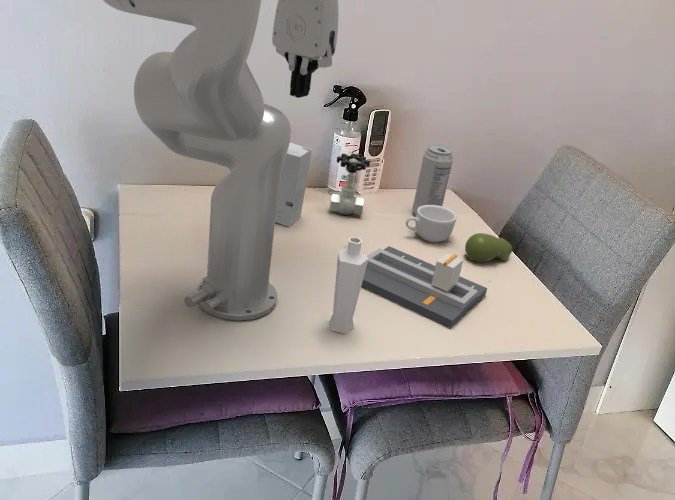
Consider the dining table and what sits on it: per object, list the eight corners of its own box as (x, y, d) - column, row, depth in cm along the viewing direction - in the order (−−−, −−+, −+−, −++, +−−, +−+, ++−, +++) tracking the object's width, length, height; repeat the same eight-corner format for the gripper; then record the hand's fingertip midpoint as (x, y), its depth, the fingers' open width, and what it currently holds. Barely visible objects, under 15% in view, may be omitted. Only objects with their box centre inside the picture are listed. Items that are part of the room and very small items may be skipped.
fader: (445, 297, 113) (453, 266, 110) (429, 290, 115) (437, 259, 112) (456, 288, 116) (464, 257, 114) (440, 281, 118) (448, 251, 115)
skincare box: (252, 216, 134) (258, 144, 127) (265, 206, 139) (272, 136, 132) (291, 228, 132) (300, 155, 125) (303, 217, 137) (312, 146, 130)
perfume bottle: (358, 321, 107) (373, 236, 100) (352, 336, 103) (368, 249, 96) (329, 314, 108) (343, 229, 101) (323, 329, 104) (336, 242, 97)
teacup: (442, 228, 141) (447, 204, 139) (456, 246, 135) (463, 222, 132) (396, 228, 138) (401, 204, 136) (409, 246, 132) (414, 221, 129)
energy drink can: (427, 207, 149) (442, 142, 142) (445, 219, 145) (460, 153, 138) (405, 211, 146) (419, 144, 139) (423, 223, 142) (437, 155, 135)
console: (450, 328, 109) (454, 314, 107) (346, 279, 118) (348, 266, 116) (485, 295, 119) (489, 282, 118) (387, 253, 128) (390, 240, 127)
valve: (361, 222, 138) (370, 167, 133) (328, 218, 138) (336, 162, 132) (361, 209, 144) (370, 155, 138) (329, 204, 144) (337, 151, 138)
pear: (465, 227, 130) (504, 231, 135) (456, 252, 132) (494, 254, 137) (483, 241, 125) (522, 244, 131) (473, 266, 127) (512, 268, 133)
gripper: (259, -29, 107) (250, 87, 116) (337, -10, 101) (322, 111, 109) (289, -29, 113) (278, 81, 122) (364, -11, 106) (347, 104, 115)
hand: (299, 95), depth 115 cm, fingers closed
